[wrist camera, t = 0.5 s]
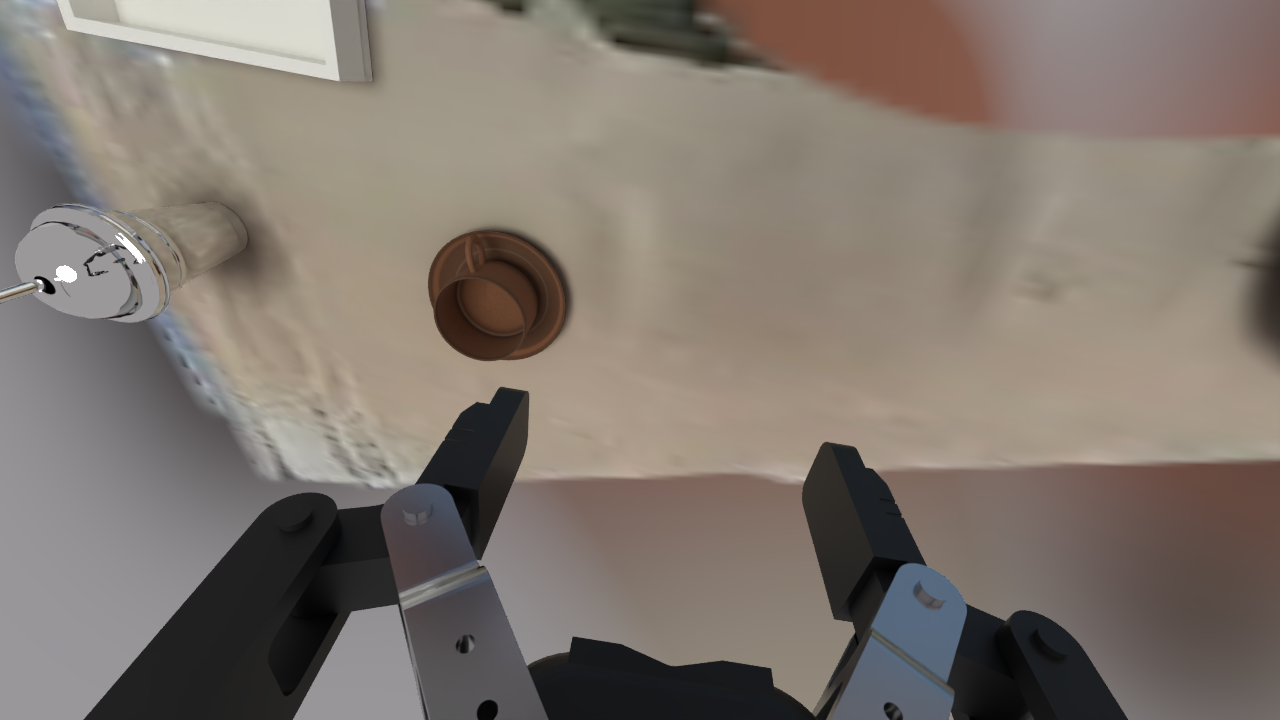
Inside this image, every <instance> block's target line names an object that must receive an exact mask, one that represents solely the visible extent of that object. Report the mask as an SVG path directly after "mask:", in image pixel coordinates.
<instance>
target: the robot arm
mask: <svg viewBox="0 0 1280 720" xmlns="http://www.w3.org/2000/svg"><path fill="white" fill-rule="evenodd" d="M528 417H529V392H528V391H523V390H517V389H511V388H505V387H500V388H499V389H498V390H497V392H496V394H495V396H494V397H493V399H492V401H491V402H490V404H485V403H479V402H476V403H475V404H473V405H472V406H470V407H469V408H467V409H466V410H465V411H463V412H462V413H461V414H460V415H459V417H458V419H457V420H456V422H455V423H454V425H453V426H452V429H450V431H449V433H448V434H447V436H446V437H445V441H443V442H442V443H441V445H440V447H439V448H438V450H437V451H436V453H435V454H434V456H433V457H432V459H431V461H430V462H429V464H428V465H427V467H426V468H425V470H424V471H423V473H422V474H421V476H420V478H419V479H418V481H417V482H416V484H415V485H412V486H408V487H406V488H403V489H401V490H399V491H398V492H396V493H395V494H393V495H392V496H391V497H390V498H389V499H388V500H387V501H386V502H385V504H381V505H377V506H370V507H360V508H350V509H340V510H337V506H336V504H335V502H334V501H333V500H332V499H331V498H330V497H328V496H327V495H324V494H320V493H301V494H296V495H292V496H289V497H286V498H284V499H281V500H279V501H277V502H276V503H274V504H272V505H271V506H269V507H268V508H267V509H265V510H264V511H263V512H262V513H261V514H260V515H259V516H258V518H257V519H256V520H255V521H254V522H253V523H252V524H251V526H250V527H249V528H248V529H247V530H246V531H245V533H244V534H243V535H242V536H241V537H240V538H239V539H238V541H237V542H236V543H235V544H234V545H233V546H232V548H231V549H230V550H229V551H228V552H227V554H226V555H225V556H224V557H223V558H222V559H221V560H220V562H219V563H218V564H217V565H216V566H215V568H214V569H213V570H212V571H211V572H210V573H209V574H208V576H207V577H206V578H205V579H204V580H203V581H202V583H201V584H200V585H199V586H198V587H197V588H196V590H195V591H194V592H193V593H192V594H191V595H190V596H189V598H188V599H187V600H186V601H185V602H184V603H183V605H182V606H181V607H180V608H179V609H178V611H177V612H176V613H175V614H174V615H173V616H172V617H171V619H170V620H169V621H168V622H167V623H166V624H165V626H164V627H163V628H162V629H161V630H160V631H159V633H158V634H157V635H156V636H155V637H154V638H153V640H152V641H151V642H150V643H149V644H148V645H147V647H146V648H145V649H144V650H143V651H142V652H141V654H140V655H139V656H138V657H137V658H136V659H135V660H134V662H133V663H132V664H131V665H130V666H129V667H128V669H127V670H126V671H125V672H124V673H123V674H122V676H121V677H120V678H119V679H118V680H117V681H116V683H115V684H114V685H113V686H112V687H111V688H110V690H109V691H108V692H107V693H106V694H105V695H104V697H103V698H102V699H101V700H100V701H99V702H98V704H97V705H96V706H95V707H94V708H93V709H92V711H91V712H90V713H89V714H88V715H87V716H86V717H85V719H84V720H293V718H294V716H295V715H296V713H297V711H298V709H299V707H300V705H301V704H302V702H303V700H304V698H305V696H306V694H307V692H308V691H309V689H310V687H311V685H312V683H313V681H314V680H315V678H316V676H317V674H318V672H319V670H320V668H321V666H322V665H323V663H324V661H325V659H326V657H327V655H328V654H329V652H330V650H331V648H332V646H333V644H334V643H335V641H336V639H337V637H338V635H339V633H340V631H341V630H342V628H343V626H344V624H345V622H346V620H347V618H348V617H349V615H350V613H351V611H357V610H364V609H370V608H376V607H383V606H389V605H396V604H398V608H399V613H400V617H401V621H402V625H403V630H404V634H405V638H406V642H407V647H408V651H409V655H410V659H411V664H412V668H413V672H414V677H415V681H416V686H417V690H418V695H419V700H420V704H421V709H422V713H423V718H424V720H949V716H950V712H951V713H952V716H953V718H954V720H1128V719H1127V717H1126V716H1125V714H1124V712H1123V711H1122V709H1121V708H1120V706H1119V705H1118V703H1117V702H1116V700H1115V698H1114V697H1113V695H1112V694H1111V692H1110V690H1109V689H1108V687H1107V686H1106V684H1105V683H1104V681H1103V679H1102V678H1101V676H1100V675H1099V673H1098V672H1097V670H1096V668H1095V667H1094V665H1093V664H1092V662H1091V661H1090V659H1089V657H1088V656H1087V654H1086V653H1085V651H1084V650H1083V648H1082V647H1081V646H1080V644H1079V643H1078V642H1077V641H1076V640H1075V639H1074V638H1073V637H1072V636H1071V635H1070V634H1069V633H1068V632H1067V631H1066V630H1065V629H1063V628H1062V627H1061V626H1059V625H1058V624H1057V623H1055V622H1054V621H1052V620H1050V619H1049V618H1047V617H1045V616H1043V615H1040V614H1038V613H1035V612H1031V611H1026V610H1022V611H1017V612H1015V613H1013V614H1012V615H1011V616H1010V617H1009V619H1007V621H1004V620H1002V619H1000V618H997V617H995V616H993V615H990V614H988V613H986V612H983V611H981V610H979V609H976V608H974V607H972V606H970V605H968V604H966V603H965V601H964V599H963V597H962V595H961V594H960V592H959V591H958V590H957V588H956V587H955V586H954V585H953V584H952V583H951V582H950V581H949V580H948V579H947V578H946V577H945V576H943V575H942V574H940V573H939V572H937V571H935V570H933V569H932V568H929V567H927V565H926V563H925V561H924V559H923V557H922V555H921V553H920V551H919V549H918V547H917V545H916V543H915V541H914V539H913V537H912V535H911V533H910V530H909V529H908V527H907V525H906V522H905V520H904V518H902V517H901V515H902V514H901V512H900V510H899V508H898V506H897V504H895V500H894V498H893V496H892V494H891V492H890V490H889V487H888V485H887V484H886V483H885V482H884V481H883V480H882V479H881V478H880V476H879V475H878V474H877V473H876V472H875V471H874V470H873V469H870V468H865V466H864V464H863V461H862V459H861V457H860V455H859V453H858V451H857V449H856V448H855V447H853V446H848V445H842V444H836V443H830V442H825V443H823V444H822V446H821V447H820V449H819V452H818V454H817V456H816V458H815V460H814V463H813V465H812V467H811V469H810V471H809V473H808V476H807V478H806V480H805V482H804V486H803V492H802V502H803V507H804V511H805V514H806V518H807V522H808V525H809V529H810V533H811V536H812V540H813V544H814V547H815V551H816V555H817V558H818V562H819V566H820V569H821V573H822V577H823V580H824V584H825V588H826V591H827V595H828V599H829V602H830V606H831V610H832V613H833V616H834V619H836V620H842V621H848V622H853V625H854V628H855V633H854V635H853V636H852V638H851V639H850V641H849V643H848V645H847V647H846V649H845V651H844V653H843V655H842V657H841V659H840V661H839V663H838V665H837V667H836V669H835V671H834V672H833V674H832V676H831V678H830V680H829V682H828V684H827V686H826V688H825V690H824V692H823V694H822V696H821V698H820V700H819V701H818V703H817V705H816V707H815V708H814V710H813V712H812V713H811V712H810V711H809V710H808V709H807V708H806V707H804V706H803V705H802V704H801V703H800V702H798V701H797V700H796V699H794V698H793V697H791V696H790V695H788V694H787V693H785V692H783V691H782V690H780V689H778V688H776V687H774V685H773V678H772V672H771V668H765V667H759V666H753V665H747V664H741V663H734V662H728V661H715V662H708V663H700V664H692V665H684V666H669V665H666V664H664V663H662V662H660V661H657V660H655V659H653V658H651V657H648V656H646V655H644V654H642V653H640V652H638V651H635V650H633V649H631V648H629V647H626V646H624V645H622V644H616V643H610V642H604V641H597V640H592V639H585V638H579V637H573V638H572V643H571V648H570V652H566V653H559V654H555V655H551V656H547V657H545V658H542V659H540V660H537V661H535V662H533V663H531V664H529V665H528V666H527V665H526V663H525V660H524V658H523V656H522V653H521V651H520V648H519V646H518V643H517V641H516V638H515V636H514V633H513V631H512V628H511V626H510V623H509V621H508V619H507V616H506V614H505V611H504V609H503V606H502V604H501V601H500V599H499V596H498V594H497V591H496V589H495V587H494V584H493V582H492V579H491V577H490V574H489V572H488V570H487V569H486V567H485V566H481V567H480V566H479V564H478V562H477V560H481V559H482V556H483V553H484V551H485V549H486V547H487V544H488V542H489V539H490V536H491V534H492V532H493V529H494V527H495V524H496V522H497V520H498V517H499V515H500V512H501V510H502V508H503V505H504V503H505V500H506V498H507V495H508V493H509V491H510V488H511V486H512V483H513V481H514V478H515V476H516V474H517V471H518V469H519V466H520V464H521V461H522V459H523V456H524V453H525V449H526V445H527V439H528Z"/></svg>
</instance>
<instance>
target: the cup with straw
mask: <svg viewBox="0 0 1280 720" xmlns="http://www.w3.org/2000/svg"><path fill="white" fill-rule="evenodd" d="M247 243H248V235H247V231H246V228H245V226H244V224H243V223H242V221H241V220H240V219H239V217H238V216H237V215H236V214H235V213H234V212H233V211H231V210H230V209H229V208H227V207H225V206H223V205H221V204H219V203H215V202H204V203H201V204H200V203H193V204H184V205H176V206H167V207H159V208H150V209H142V210H133V211H120V210H115V211H106V210H100V209H98V208H96V207H92V206H88V205H84V204H77V203H64V204H58V205H56V206H54V207H52V208H50V209H47V210H45V211H43V212H41V213H40V214H39V215H38V216H37V217H36V218H35V219H34V221H33V223H32V226H31V229H30V232H29V233H28V234H27V235H26V236H25V237H24V238H23V239H22V240H21V242H20V243H19V245H18V247H17V250H16V255H15V264H16V269H17V272H18V274H19V277H20V279H21V280H22V282H23V283H22V284H19V285H16V286H12V287H9V288H6V289H2V290H0V304H1V303H5V302H8V301H11V300H14V299H16V298H20V297H23V296H26V295H29V294H33V295H34V296H36V297H37V298H38V299H39V300H41V301H43V302H44V303H45V304H47V305H49V306H51V307H53V308H55V309H57V310H59V311H61V312H64V313H67V314H71V315H75V316H79V317H83V318H92V319H110V320H114V321H118V322H129V323H132V322H140V321H143V320H150V319H153V318H155V317H158V316H159V315H161V314H162V313H163V312H164V311H165V310H166V308H167V307H168V305H169V303H170V299H171V296H172V295H173V294H174V293H175V292H176V291H178V290H179V289H180V288H182V286H183V285H184V284H186V283H188V282H190V281H191V280H193V279H195V278H197V277H198V276H200V275H202V274H204V273H205V272H207V271H209V270H210V269H212V268H214V267H216V266H217V265H219V264H221V263H223V262H224V261H226V260H228V259H230V258H231V257H233V256H234V255H235V254H237V253H239V252H242V251H243V250H244V249H245V248H246V246H247Z"/></svg>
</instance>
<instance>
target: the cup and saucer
mask: <svg viewBox="0 0 1280 720" xmlns="http://www.w3.org/2000/svg"><path fill="white" fill-rule="evenodd" d="M428 290H429V297H430V301H431V304H432V307H433V310H434V319H435V323H436V326H437V328H438V330H439V332H440V334H441V335H442V337H443V338H444V339H445V341H446V342H447V343H448V344H449V345H450V346H451V347H452V348H454V349H455V350H456V351H458V352H459V353H461V354H463V355H465V356H467V357H469V358H472V359H476V360H481V361H496V360H518V359H524V358H528V357H531V356H533V355H536V354H538V353H539V352H541V351H543V350H544V349H545V348H547V347H548V346H549V345H550V344H551V343H552V342H553V341H554V340H555V338H556V337H557V335H558V334H559V332H560V330H561V327H562V325H563V321H564V317H565V307H566V305H565V295H564V290H563V287H562V284H561V281H560V279H559V277H558V275H557V273H556V271H555V269H554V268H553V266H552V265H551V264H550V262H549V261H548V260H547V259H546V258H545V256H543V255H542V254H541V253H540V252H539V251H538V250H537V249H536V248H534V247H533V246H532V245H530V244H529V243H527V242H525V241H523V240H522V239H519V238H517V237H515V236H512V235H509V234H506V233H502V232H496V231H477V232H471V233H467V234H464V235H461V236H459V237H457V238H455V239H453V240H451V241H450V242H449V243H447V244H446V245H445V246H444V247H443V248H442V249H441V250H440V251H439V252H438V254H437V255H436V257H435V259H434V261H433V263H432V265H431V268H430V272H429V278H428Z"/></svg>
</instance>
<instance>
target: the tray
mask: <svg viewBox="0 0 1280 720" xmlns="http://www.w3.org/2000/svg"><path fill="white" fill-rule="evenodd" d="M57 2H58V5H59V8H60V11H61V13H62V16H63V19H64V22H65V25H66V27H67V29H68V30H73V31H78V32H83V33H88V34H94V35H99V36H104V37H109V38H115V39H120V40H125V41H130V42H136V43H141V44H146V45H151V46H157V47H162V48H167V49H172V50H178V51H183V52H188V53H193V54H199V55H204V56H209V57H214V58H219V59H225V60H230V61H235V62H240V63H246V64H251V65H256V66H261V67H267V68H272V69H277V70H282V71H288V72H293V73H298V74H303V75H309V76H314V77H319V78H324V79H330V80H335V81H373V79H372V69H371V59H370V49H369V39H368V29H367V19H366V9H365V0H57Z"/></svg>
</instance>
